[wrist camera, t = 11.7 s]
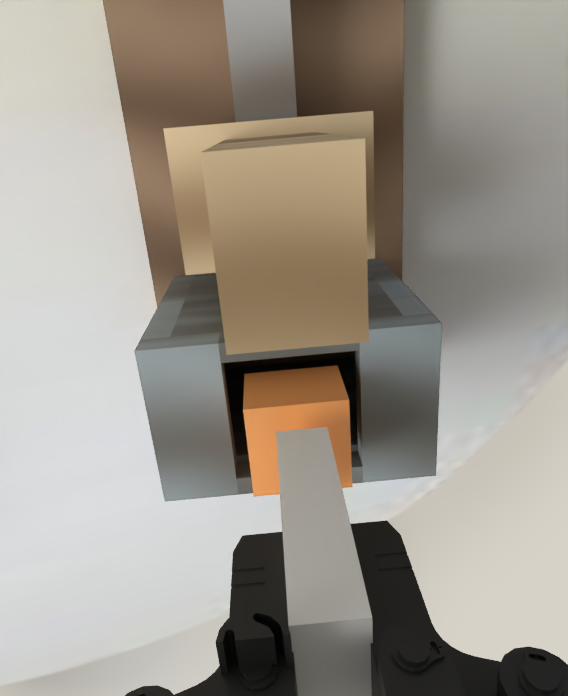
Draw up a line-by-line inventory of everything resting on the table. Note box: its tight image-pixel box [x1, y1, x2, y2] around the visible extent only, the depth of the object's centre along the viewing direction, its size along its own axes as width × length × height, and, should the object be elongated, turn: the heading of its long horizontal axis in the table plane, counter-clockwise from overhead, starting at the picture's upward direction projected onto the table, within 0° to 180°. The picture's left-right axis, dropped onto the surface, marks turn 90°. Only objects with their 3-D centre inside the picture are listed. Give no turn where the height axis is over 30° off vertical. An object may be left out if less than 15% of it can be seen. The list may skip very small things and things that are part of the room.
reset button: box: [243, 365, 352, 496], centre depth 18 cm, size 3×3×2 cm
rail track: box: [103, 0, 442, 501], centre depth 19 cm, size 26×12×11 cm, turn 4°
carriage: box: [163, 111, 375, 355], centre depth 17 cm, size 5×7×14 cm
